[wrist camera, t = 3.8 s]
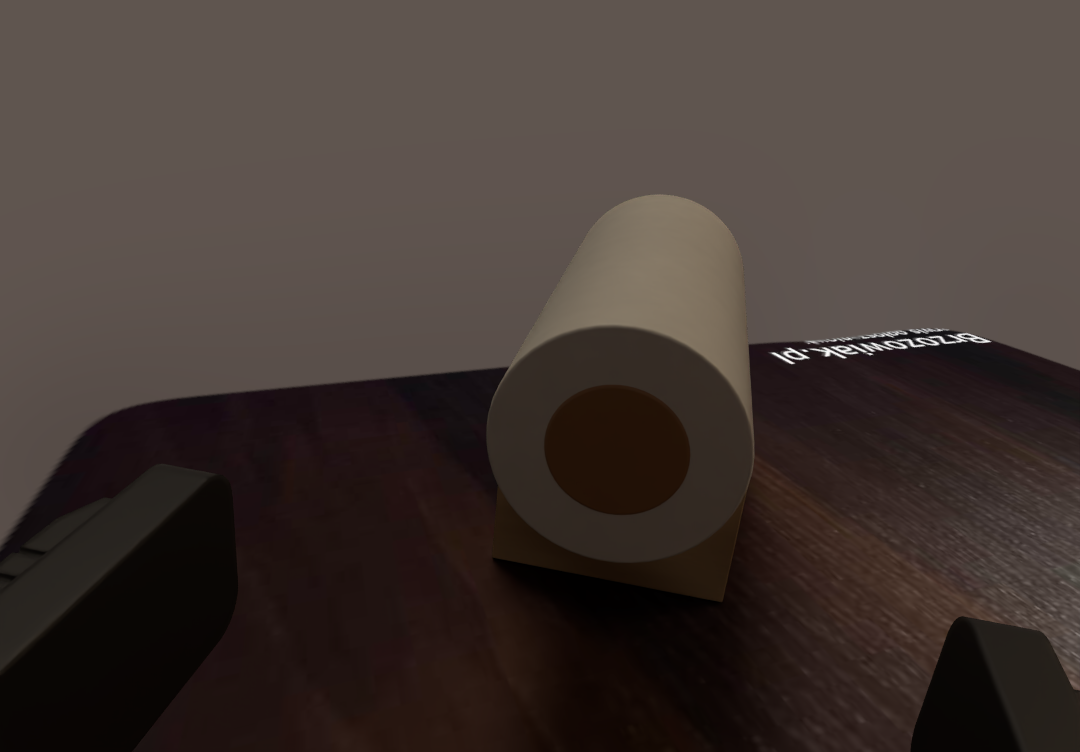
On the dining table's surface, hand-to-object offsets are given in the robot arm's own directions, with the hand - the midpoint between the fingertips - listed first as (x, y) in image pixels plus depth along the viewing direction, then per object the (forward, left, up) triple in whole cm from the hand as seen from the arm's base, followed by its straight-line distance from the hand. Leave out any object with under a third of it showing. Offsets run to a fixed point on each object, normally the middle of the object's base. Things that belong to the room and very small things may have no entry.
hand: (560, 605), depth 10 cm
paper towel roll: (0, +15, -3) cm, 16 cm away
